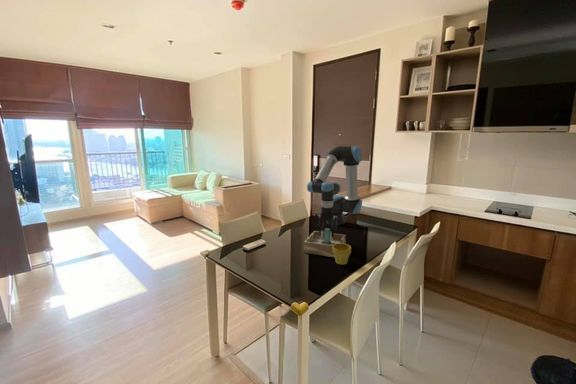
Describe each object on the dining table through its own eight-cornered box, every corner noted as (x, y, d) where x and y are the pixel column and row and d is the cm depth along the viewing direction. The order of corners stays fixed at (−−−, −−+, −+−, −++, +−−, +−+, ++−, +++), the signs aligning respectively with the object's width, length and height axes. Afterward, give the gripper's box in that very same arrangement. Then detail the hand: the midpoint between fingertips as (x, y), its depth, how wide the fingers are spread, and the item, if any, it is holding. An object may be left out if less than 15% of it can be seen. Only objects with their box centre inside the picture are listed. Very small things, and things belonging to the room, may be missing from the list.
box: (314, 240, 193) (314, 230, 192) (345, 244, 185) (345, 234, 184) (303, 252, 173) (303, 241, 172) (338, 258, 165) (338, 247, 164)
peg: (322, 247, 181) (323, 230, 178) (324, 245, 184) (325, 228, 182) (328, 248, 179) (329, 231, 177) (330, 246, 183) (331, 229, 180)
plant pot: (339, 268, 153) (340, 251, 151) (328, 260, 162) (329, 245, 160) (354, 264, 157) (354, 248, 155) (342, 257, 166) (343, 241, 164)
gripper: (311, 206, 176) (311, 240, 181) (340, 209, 169) (339, 244, 174) (315, 203, 183) (314, 236, 188) (342, 206, 176) (341, 240, 181)
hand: (326, 240), depth 181 cm, fingers open, 5 cm apart
